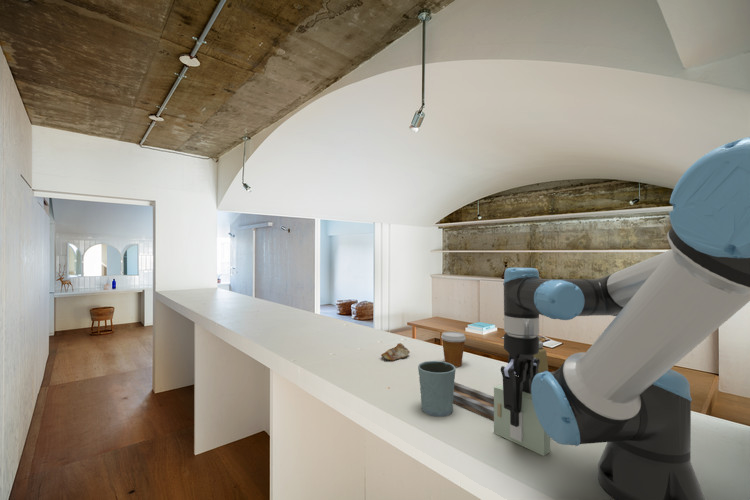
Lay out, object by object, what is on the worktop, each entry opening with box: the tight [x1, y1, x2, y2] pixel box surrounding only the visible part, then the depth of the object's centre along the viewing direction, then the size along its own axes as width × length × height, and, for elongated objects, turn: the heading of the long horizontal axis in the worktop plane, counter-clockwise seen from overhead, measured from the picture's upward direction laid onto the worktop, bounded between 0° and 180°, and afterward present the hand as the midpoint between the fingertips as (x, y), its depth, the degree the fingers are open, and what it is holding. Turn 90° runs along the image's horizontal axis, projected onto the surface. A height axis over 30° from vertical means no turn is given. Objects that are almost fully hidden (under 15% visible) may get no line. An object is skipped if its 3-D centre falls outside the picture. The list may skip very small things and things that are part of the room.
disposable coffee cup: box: [440, 331, 467, 368], centre depth 134 cm, size 10×10×12 cm
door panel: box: [493, 383, 551, 457], centre depth 79 cm, size 12×3×11 cm, turn 39°
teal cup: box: [418, 360, 457, 417], centre depth 95 cm, size 10×10×12 cm
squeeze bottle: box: [533, 334, 549, 373], centre depth 114 cm, size 8×8×18 cm
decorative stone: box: [380, 343, 411, 362], centre depth 143 cm, size 10×4×15 cm
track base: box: [453, 381, 494, 421], centre depth 99 cm, size 24×8×2 cm, turn 39°
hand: (520, 436), depth 79 cm, fingers closed on door panel, 3 cm apart
